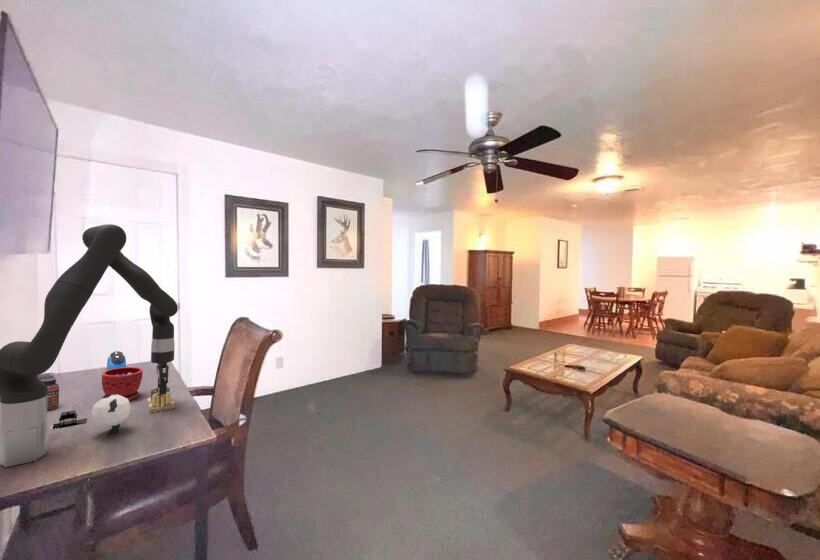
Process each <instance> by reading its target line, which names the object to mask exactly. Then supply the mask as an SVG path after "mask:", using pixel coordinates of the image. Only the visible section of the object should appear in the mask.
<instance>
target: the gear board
mask: <svg viewBox="0 0 820 560" xmlns="http://www.w3.org/2000/svg"><path fill="white" fill-rule="evenodd" d="M170 389H171V388H170V387H169V386H167V392H171V390H170ZM159 392H160V388H158V387H155V388H152V389H151V390H150V397H148V398H147V399H146V400H147V401H148V402H147V401H146V402H147V407H148V411H149V412H150V413H149V414H153V413H152V412H154V413H158V412H157V411H160V412H163V411H162V410H165V411H168V410H167V409H171V410H173V409H172V408H175V409H176V405H175V402H174V399H173V396H172V395H171V404H170V405H167V406H164V407H152V395H153V394H155V393H159ZM160 396H161V395H160Z"/></svg>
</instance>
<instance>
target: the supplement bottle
mask: <svg viewBox="0 0 820 560" xmlns="http://www.w3.org/2000/svg"><path fill="white" fill-rule="evenodd" d="M40 380H41V381H42V382H43V383H45V384H46V385H47V387H48V403H47V412H48V411H53V410H56V409H58V408H59V402H60V385H59V384H58V382H57V378H54V377H51V378H50V377H48V378H44V379H40Z"/></svg>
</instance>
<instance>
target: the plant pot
mask: <svg viewBox="0 0 820 560" xmlns="http://www.w3.org/2000/svg"><path fill="white" fill-rule="evenodd" d="M123 373H125V375H122V374H123ZM116 374H119V375H116ZM142 379H143V369H142V368H141V367H134V366H126V367H122V368H114V369H110V370H107V369H106V370H105V371H103V372H102V373H101V388H102V391H103V393H104V395H103V396H102V397H104V396H107V394H109V395H112V394H115V393H117V394H118V395H120V396H123V397H125V398H127V399H128V400H129V401H132V400H133V399H135V398H137V397H138V396H139V393H140V392H139V391H138V390H139V389H140V386H141V383H142Z"/></svg>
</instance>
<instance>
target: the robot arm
mask: <svg viewBox="0 0 820 560" xmlns="http://www.w3.org/2000/svg"><path fill="white" fill-rule="evenodd" d="M82 242H83V244H84V246H85V247H86V248H87V250H86V252H85V253H84V254H83V256H81V257H80V259H78V260H77V261H75V262H74V264H72V265H71V266H70V267H68V268H67V269H66V270H65V271H64V272H63V273H62V274H61V275H60V276H59V277H58V278H57V280H56V281H55V283H54V284H53V285H52V286H51V288H50V289H49V291H48V293H47V294H46V296H45V300H44V308H43V309H44V311H43V321H42V323H41V326H40V328H39V330H38V331H37V333H36V334H35V335H34V337H33V339H32V340H31V341H24V340H23V341H22V340H21V341H12V342H9V343H8V344H4V345H3V346H2V347H1V348H0V466H3V468H4V467H5V468H9V467H13V466H17V465H18V466H19V465H23V464H27V463H28V464H29V463H32V461H33V462H36V461H38V459H40V458H42V457H43V455H44V456H45V455H47V453H46V452H48V411H47V403H48V387H47V385H46V384H45V383H43V382H42V381H41V380H42V379H40V378H39V377H38V376H40V375H43V374H44V373H45V372H47V371H48V370H49V369H50V368H51V367H52V366H53V364H54V363H55V362H56V360H57V358H58V356H59V354H60V352H61V350H62V348H63V345H64V343H65V341H66V339H67V337H68V335H69V333H70V331H71V329H72V327H73V326H74V324H75V322H76V321H77V319H78V317H79V315H80V314H81V312H82V311H83V309H84V308H85V306H86V304H87V303H88V301H89V300H90V298H91V296H92V295H93V293H94V291H95V289H96V287H97V286H98V284H99V282H100V281H101V279H102V278H103V276H104V274H105V273H106V272H107V269H108V268H109V267H110V268H111V269H112V270H113V271H115V272H116V274H118V275H119V276H120V277H121V278H122V279H123V280H124V281H125V282H126V283H127V285H129V286H130V287H131V289H133V291H134V292H135V293H136V294H137V295H138V296H139V297H140V298H141V299H142V300H144V301H147V302H148V303H149V304H150V305H149V316H150V317H149V318H150V323H151V326H152V334H151V337H152V338H151V345H150V346H151V347H150V350H151V351H150V362H151V363H152V364H156V366H155V371H156V377H157V388H160V394H164V393H166V392H167V387H168V383H169V376H170V375H169V370H170V365H169V364H168V363H172V362H173V361H174V360H175V325H174V324H173V323H172V321H171V317H173V316H175V315H176V314H177V313H178V311H179V305H178V303H177V302H176V301H175V299H174V298H172V297H171V295H169V294H168V292H166V291H165V290H164V289H162V287H160V285H159V284H158V283H157V282H156V280H155V279H154V278H153V277H152V275H150V273H148V272H147V271H146V270H144V269H143V267H140V266H139V265H137V264H135V262H133V261H132V260H130V259H129V258H128V257H127V256H125V254H124V253H123V252H122V249H124V247H125V246H126V244H127V243H126V242H127V234H126V232H125V230H124V229H123V228H122V227H121V226H120V225H117V224H102V225H96V226H95V225H94V226H92V227H89V228H87V229H86V230H85V231H84V232H83V233H82Z"/></svg>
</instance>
